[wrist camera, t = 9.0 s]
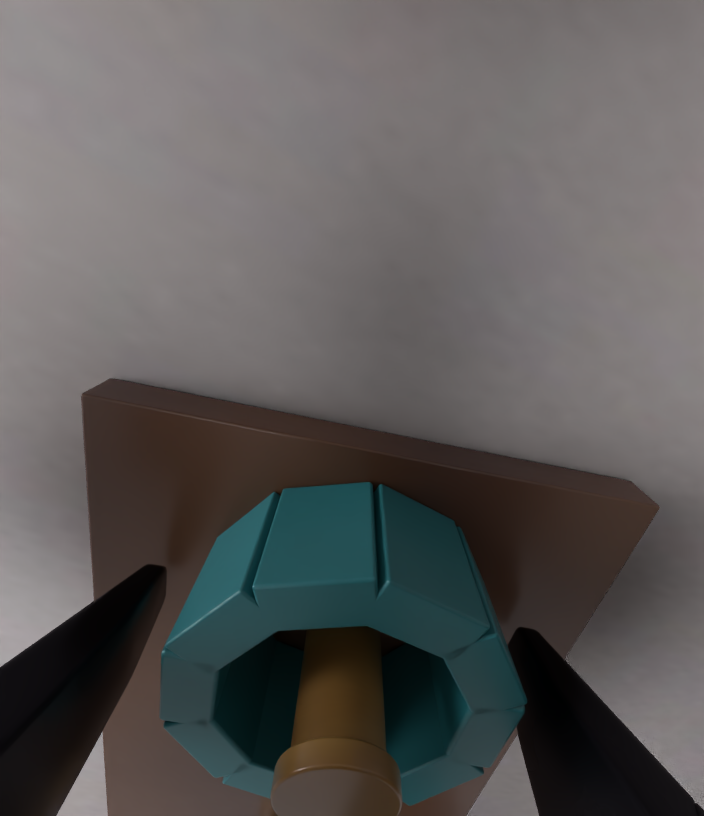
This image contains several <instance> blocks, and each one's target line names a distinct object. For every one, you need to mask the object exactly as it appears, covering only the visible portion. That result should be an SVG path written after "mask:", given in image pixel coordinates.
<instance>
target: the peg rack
mask: <svg viewBox="0 0 704 816" xmlns="http://www.w3.org/2000/svg"><path fill="white" fill-rule="evenodd" d="M81 403H82V419H83V434H84V450H85V465H86V481H87V496H88V512H89V528H90V543H91V559H92V574H93V590H94V601H95V600H96V599H98V598H99V597H101V596H102V595H103V594H105V593H106V592H108V591H109V590H110V589H112V588H113V587H115V586H116V585H118V584H119V583H120V582H122V581H123V580H125V579H126V578H127V577H129V576H130V575H132V574H133V573H135V572H136V571H137V570H139V569H140V568H142V567H143V566H145V565H147V564H155V565H161V566H165V567H166V569H167V585H166V597H165V600H164V603H163V606H162V608H161V610H160V613H159V615H158V617H157V620H156V622H155V624H154V627H153V629H152V631H151V634H150V636H149V638H148V641H147V643H146V645H145V648H144V650H143V652H142V655H141V657H140V659H139V662H138V664H137V666H136V668H135V671H134V673H133V675H132V677H131V679H130V681H129V683H128V685H127V687H126V689H125V691H124V692H123V694H122V696H121V698H120V700H119V702H118V703H117V705H116V707H115V709H114V711H113V713H112V714H111V716H110V718H109V720H108V722H107V724H106V725H105V727H104V729H103V745H104V761H105V776H106V792H107V807H108V816H466V815H467V813H468V812H469V810H470V809H471V807H472V805H473V804H474V802H475V801H476V799H477V798H478V796H479V794H480V793H481V791H482V790H483V788H484V786H485V785H486V783H487V782H488V780H489V778H490V777H491V775H492V774H493V772H494V771H495V769H496V767H497V766H498V764H499V763H500V761H501V759H502V758H503V756H504V755H505V753H506V751H507V750H508V748H509V747H510V745H511V744H512V742H513V740H514V739H515V737H516V736H517V734H518V732H517V727H516V728H515V729H514V731H513V732H512V734H511V736H510V737H509V739H508V740H507V742H506V744H505V745H504V747H503V748H502V750H501V752H500V753H499V755H498V756H497V758H496V760H495V761H494V763H493V764H492V766H491V767H489V768H485V767H483V769H484V774H483V775H482V776H479V777H477V778H475V779H472V780H470V781H468V782H465V783H463V784H461V785H458V786H456V787H454V788H451V789H449V790H447V791H444V792H442V793H440V794H437V795H435V796H433V797H430V798H428V799H426V800H423V801H421V802H419V803H416V804H414V805H412V806H408V805H407V804H405V803H404V802H402V788H401V775H400V770H399V767H398V765H397V763H396V761H395V760H394V758H393V757H392V756H391V755H390V754H389V753H387V750H386V731H385V712H384V693H383V674H382V657H383V656H384V655H386V654H388V653H390V652H391V651H393V650H395V649H397V648H398V647H400V646H402V645H404V644H405V643H406V642H403V641H401V640H399V639H396V638H394V637H392V636H389V635H387V634H385V633H382V632H380V631H378V630H375V629H373V628H371V627H368V626H358V627H341V628H324V629H306V630H289V631H277V632H276V633H274V634H273V637H274V638H275V639H276V640H277V641H279V642H282V643H284V644H287V645H289V646H292V647H294V648H297V649H299V650H302V651H304V653H303V660H302V668H301V675H300V682H299V689H298V697H297V704H296V711H295V718H294V726H293V733H292V740H291V747H290V748H289V749H287V750H286V751H285V752H284V753H283V754H282V755H281V756H280V758H279V759H278V761H277V763H276V766H275V770H274V776H273V782H272V788H271V795H270V798H271V799H269V798H266V797H263V796H260V795H257V794H254V793H251V792H248V791H244V790H241V789H238V788H235V787H232V786H229V785H226V784H223V777H219V778H215V777H213V776H212V775H211V774H210V773H209V772H208V771H207V770H206V769H205V768H204V767H203V766H202V765H201V764H200V763H199V762H198V761H197V760H196V759H195V758H194V757H193V756H192V755H191V754H190V753H189V752H188V751H186V750H185V749H184V748H183V747H182V746H181V745H180V744H179V743H178V742H177V741H176V740H175V739H174V738H173V737H172V736H171V735H170V734H169V733H168V732H167V731H166V730H165V729H164V727H163V724H164V720H161V719H160V718H159V711H160V680H161V652H162V650H163V648H164V645H165V643H166V641H167V639H168V637H169V635H170V633H171V631H172V629H173V627H174V625H175V623H176V621H177V619H178V617H179V615H180V613H181V611H182V609H183V606H184V604H185V602H186V600H187V598H188V596H189V594H190V592H191V590H192V588H193V586H194V584H195V582H196V580H197V578H198V576H199V574H200V572H201V570H202V567H203V565H204V563H205V561H206V559H207V557H208V555H209V553H210V551H211V549H212V547H213V545H214V543H215V541H216V539H217V537H218V536H220V535H221V534H222V533H223V532H225V531H226V530H227V529H228V528H230V527H231V526H232V525H233V524H235V523H236V522H237V521H238V520H240V519H241V518H242V517H243V516H245V515H246V514H247V513H248V512H250V511H251V510H252V509H253V508H254V507H256V506H257V505H258V504H259V503H261V502H262V501H263V500H264V499H266V498H267V497H268V496H269V495H271V494H272V493H273V492H276V493H277V494H278V495H280V496H281V493H282V490H283V489H285V488H297V487H309V486H322V485H335V484H347V483H360V482H371V483H372V485H373V493H374V491H375V490H376V489H377V487H378V486H379V485H380V484H383V485H385V486H387V487H389V488H391V489H393V490H395V491H397V492H399V493H401V494H403V495H405V496H407V497H409V498H411V499H413V500H415V501H417V502H419V503H421V504H423V505H425V506H426V507H428V508H430V509H432V510H434V511H436V512H438V513H440V514H442V515H444V516H446V517H448V518H450V519H452V520H453V521H454V522H455V525H456V527H460V528H461V529H462V531H463V534H464V536H465V538H466V541H467V543H468V545H469V548H470V550H471V553H472V555H473V557H474V560H475V562H476V565H477V567H478V569H479V572H480V574H481V576H482V579H483V581H484V584H485V586H486V589H487V592H488V594H489V597H490V600H491V602H492V605H493V608H494V611H495V613H496V616H497V619H498V621H499V624H500V627H501V630H502V632H503V635H504V638H505V641H506V643H507V645H508V643H509V641H510V639H511V638H512V636H513V634H514V632H515V630H516V629H517V628H518V627H525V628H531V629H535V630H537V631H538V632H539V633H540V634H541V635H542V636H543V637H544V638H545V639H546V641H547V642H548V643H549V644H550V645H551V646H552V647H553V648H554V649H555V650H556V651H557V652H558V653H559V655H560V656H561V657H562V658H563V659H565V658H566V656H567V655H568V653H569V651H570V650H571V648H572V647H573V645H574V643H575V642H576V640H577V639H578V637H579V636H580V634H581V632H582V631H583V629H584V628H585V626H586V624H587V623H588V621H589V620H590V618H591V616H592V615H593V613H594V612H595V610H596V609H597V607H598V605H599V604H600V602H601V601H602V599H603V597H604V596H605V594H606V593H607V591H608V589H609V588H610V586H611V585H612V583H613V582H614V580H615V578H616V577H617V575H618V574H619V572H620V570H621V569H622V567H623V566H624V564H625V562H626V561H627V559H628V558H629V556H630V555H631V553H632V551H633V550H634V548H635V547H636V545H637V543H638V542H639V540H640V539H641V537H642V535H643V534H644V532H645V531H646V529H647V528H648V526H649V524H650V523H651V521H652V520H653V518H654V516H655V515H656V513H657V512H658V510H659V508H660V507H659V505H657V504H656V503H655V502H654V501H653V500H652V499H651V498H649V497H648V496H647V495H646V494H645V493H644V492H643V491H641V490H640V489H639V488H638V487H637V486H636V485H635V484H633V483H632V482H631V481H626V480H621V479H616V478H611V477H606V476H601V475H596V474H591V473H586V472H581V471H576V470H571V469H566V468H561V467H556V466H551V465H546V464H541V463H536V462H530V461H525V460H520V459H515V458H510V457H505V456H500V455H495V454H490V453H485V452H480V451H475V450H470V449H465V448H460V447H455V446H450V445H445V444H440V443H435V442H430V441H425V440H419V439H414V438H409V437H404V436H399V435H394V434H389V433H384V432H379V431H374V430H369V429H364V428H359V427H354V426H349V425H344V424H339V423H334V422H329V421H324V420H319V419H314V418H309V417H303V416H298V415H293V414H288V413H283V412H278V411H273V410H268V409H263V408H258V407H253V406H248V405H243V404H238V403H233V402H228V401H223V400H218V399H213V398H208V397H203V396H198V395H193V394H187V393H182V392H177V391H172V390H167V389H162V388H157V387H152V386H147V385H142V384H137V383H132V382H127V381H122V380H117V379H108V380H106V381H105V382H103V383H101V384H99V385H97V386H95V387H93V388H92V389H90V390H88V391H86V392H84V393H82V395H81Z"/></svg>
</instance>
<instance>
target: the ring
mask: <svg viewBox="0 0 704 816" xmlns="http://www.w3.org/2000/svg"><path fill="white" fill-rule="evenodd" d="M358 626H368V627H371V628H373V629H375V630H378V631H380V632H382V633H385V634H387V635H389V636H392V637H394V638H396V639H399V640H401V641H403V642H406V643H405V644H404V645H402V646H400V647H398V648H397V649H395V650H393V651H391V652H390V653H388V654H386V655H384V656H383V657H382V674H383V693H384V712H385V731H386V750H387V753H389V754H390V755H391V756H392V757H393V758H394V760H395V761H396V763H397V765H398V767H399V770H400V775H401V788H402V802H404V803H405V804H407V805H408V806H412V805H414V804H416V803H419V802H421V801H423V800H426V799H428V798H430V797H433V796H435V795H437V794H440V793H442V792H444V791H447V790H449V789H451V788H454V787H456V786H458V785H461V784H463V783H465V782H468V781H470V780H472V779H475V778H477V777H479V776H482V775H483V774H484V769H483V767H485V768H489V767H491V766H492V764H493V763H494V761H495V760H496V758H497V756H498V755H499V753H500V752H501V750H502V748H503V747H504V745H505V744H506V742H507V740H508V739H509V737H510V736H511V734H512V732H513V731H514V729H515V728H516V726H517V724H518V723H519V721H520V719H521V718H522V716H523V715H524V713H525V706H524V705H525V704H527V698H526V695H525V692H524V690H523V687H522V684H521V681H520V679H519V676H518V673H517V671H516V668H515V665H514V662H513V660H512V657H511V654H510V651H509V649H508V646H507V643H506V641H505V638H504V635H503V632H502V630H501V627H500V624H499V621H498V619H497V616H496V613H495V611H494V608H493V605H492V602H491V600H490V597H489V594H488V592H487V589H486V586H485V584H484V581H483V579H482V576H481V574H480V572H479V569H478V567H477V565H476V562H475V560H474V557H473V555H472V553H471V550H470V548H469V545H468V543H467V541H466V538H465V536H464V534H463V531H462V529H461V528H460V527H456V525H455V522H454V521H453V520H452V519H450V518H448V517H446V516H444V515H442V514H440V513H438V512H436V511H434V510H432V509H430V508H428V507H426V506H425V505H423V504H421V503H419V502H417V501H415V500H413V499H411V498H409V497H407V496H405V495H403V494H401V493H399V492H397V491H395V490H393V489H391V488H389V487H387V486H385V485H383V484H380V485H379V486H378V487H377V489H376V490H375V491H374V493H373V485H372V483H371V482H360V483H347V484H335V485H322V486H309V487H297V488H285V489H283V490H282V493H281V496H280V495H278V494H277V493H276V492H273V493H272V494H271V495H269V496H268V497H267V498H266V499H264V500H263V501H262V502H261V503H259V504H258V505H257V506H256V507H254V508H253V509H252V510H251V511H250V512H248V513H247V514H246V515H245V516H243V517H242V518H241V519H240V520H238V521H237V522H236V523H235V524H233V525H232V526H231V527H230V528H228V529H227V530H226V531H225V532H223V533H222V534H221V535H220V536H218V537H217V539H216V541H215V543H214V545H213V547H212V549H211V551H210V553H209V555H208V557H207V559H206V561H205V563H204V565H203V567H202V570H201V572H200V574H199V576H198V578H197V580H196V582H195V584H194V586H193V588H192V590H191V592H190V594H189V596H188V598H187V600H186V602H185V604H184V606H183V609H182V611H181V613H180V615H179V617H178V619H177V621H176V623H175V625H174V627H173V629H172V631H171V633H170V635H169V637H168V639H167V641H166V643H165V645H164V648H163V650H162V652H161V680H160V711H159V718H160V719H161V720H164V724H163V727H164V729H165V730H166V731H167V732H168V733H169V734H170V735H171V736H172V737H173V738H174V739H175V740H176V741H177V742H178V743H179V744H180V745H181V746H182V747H183V748H184V749H185V750H186V751H188V752H189V753H190V754H191V755H192V756H193V757H194V758H195V759H196V760H197V761H198V762H199V763H200V764H201V765H202V766H203V767H204V768H205V769H206V770H207V771H208V772H209V773H210V774H211V775H212V776H213V777H215V778H219V777H223V784H226V785H229V786H232V787H235V788H238V789H241V790H244V791H248V792H251V793H254V794H257V795H260V796H263V797H266V798H269V799H271V798H270V795H271V788H272V782H273V776H274V770H275V766H276V763H277V761H278V759H279V758H280V756H281V755H282V754H283V753H284V752H285V751H286V750H287V749H289V748H290V747H291V740H292V733H293V726H294V718H295V711H296V704H297V697H298V689H299V682H300V675H301V668H302V660H303V653H304V651H302V650H299V649H297V648H294V647H292V646H289V645H287V644H284V643H282V642H279V641H277V640H276V639H275V638H274V637H273V634H274V633H276V632H277V631H289V630H306V629H324V628H341V627H358Z"/></svg>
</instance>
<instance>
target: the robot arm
mask: <svg viewBox="0 0 704 816" xmlns="http://www.w3.org/2000/svg"><path fill="white" fill-rule="evenodd" d="M166 585H167V569H166V567H165V566H161V565H155V564H147V565H145V566H143V567H142V568H140V569H139V570H137V571H136V572H135V573H133V574H132V575H130V576H129V577H127V578H126V579H125V580H123V581H122V582H120V583H119V584H118V585H116V586H115V587H113V588H112V589H110V590H109V591H108V592H106V593H105V594H103V595H102V596H101V597H99V598H98V599H96V600H95V601H93V602H92V603H91V604H89V605H88V606H86V607H85V608H83V609H82V610H81V611H79V612H78V613H76V614H75V615H74V616H72V617H71V618H69V619H68V620H66V621H65V622H64V623H62V624H61V625H59V626H58V627H57V628H55V629H54V630H52V631H51V632H49V633H48V634H47V635H45V636H44V637H42V638H41V639H40V640H38V641H37V642H35V643H34V644H32V645H31V646H30V647H28V648H27V649H25V650H24V651H23V652H21V653H20V654H18V655H17V656H15V657H14V658H13V659H11V660H10V661H8V662H7V663H5V664H4V665H3V666H1V667H0V816H56V815H57V813H58V811H59V810H60V808H61V806H62V804H63V802H64V800H65V799H66V797H67V795H68V793H69V791H70V789H71V788H72V786H73V784H74V782H75V780H76V778H77V777H78V775H79V773H80V771H81V769H82V768H83V766H84V764H85V762H86V760H87V758H88V757H89V755H90V753H91V751H92V749H93V747H94V746H95V744H96V742H97V740H98V738H99V736H100V735H101V733H102V731H103V729H104V727H105V725H106V724H107V722H108V720H109V718H110V716H111V714H112V713H113V711H114V709H115V707H116V705H117V703H118V702H119V700H120V698H121V696H122V694H123V692H124V691H125V689H126V687H127V685H128V683H129V681H130V679H131V677H132V675H133V673H134V671H135V668H136V666H137V664H138V662H139V659H140V657H141V655H142V652H143V650H144V648H145V645H146V643H147V641H148V638H149V636H150V634H151V631H152V629H153V627H154V624H155V622H156V620H157V617H158V615H159V613H160V610H161V608H162V606H163V603H164V600H165V597H166ZM507 646H508V649H509V651H510V654H511V657H512V660H513V662H514V665H515V668H516V671H517V673H518V676H519V679H520V681H521V684H522V687H523V690H524V692H525V695H526V698H527V704H525V705H524V706H525V713H524V715H523V716H522V718H521V719H520V721H519V723H518V724H517V726H516V727H517V732H518V737H519V741H520V745H521V749H522V753H523V756H524V760H525V764H526V768H527V771H528V775H529V779H530V783H531V786H532V790H533V794H534V798H535V801H536V805H537V809H538V813H539V816H704V810H703V809H702V808H701V807H700V806H699V805H698V804H697V803H694V800H693V798H692V797H691V796H690V795H689V794H688V793H687V792H686V791H685V790H684V788H683V787H682V786H681V785H680V784H679V783H678V782H677V781H676V780H675V779H674V778H673V777H672V775H671V774H670V773H669V772H668V771H667V770H666V769H665V768H664V767H663V766H662V765H661V764H660V763H659V761H658V760H657V759H656V758H655V757H654V756H653V755H652V754H651V753H650V752H649V751H648V750H647V748H646V747H645V746H644V745H643V744H642V743H641V742H640V741H639V740H638V739H637V738H636V737H635V736H634V734H633V733H632V732H631V731H630V730H629V729H628V728H627V727H626V726H625V725H624V724H623V723H622V721H621V720H620V719H619V718H618V717H617V716H616V715H615V714H614V713H613V712H612V711H611V710H610V709H609V707H608V706H607V705H606V704H605V703H604V702H603V701H602V700H601V699H600V698H599V697H598V696H597V695H596V693H595V692H594V691H593V690H592V689H591V688H590V687H589V686H588V685H587V684H586V683H585V682H584V680H583V679H582V678H581V677H580V676H579V675H578V674H577V673H576V672H575V671H574V670H573V669H572V668H571V666H570V665H569V664H568V663H567V662H566V661H565V660H564V659H563V658H562V657H561V656H560V655H559V653H558V652H557V651H556V650H555V649H554V648H553V647H552V646H551V645H550V644H549V643H548V642H547V641H546V639H545V638H544V637H543V636H542V635H541V634H540V633H539V632H538V631H537V630H535V629H531V628H525V627H518V628H517V629H516V630H515V632H514V634H513V636H512V638H511V639H510V641H509V643H508V645H507Z"/></svg>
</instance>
